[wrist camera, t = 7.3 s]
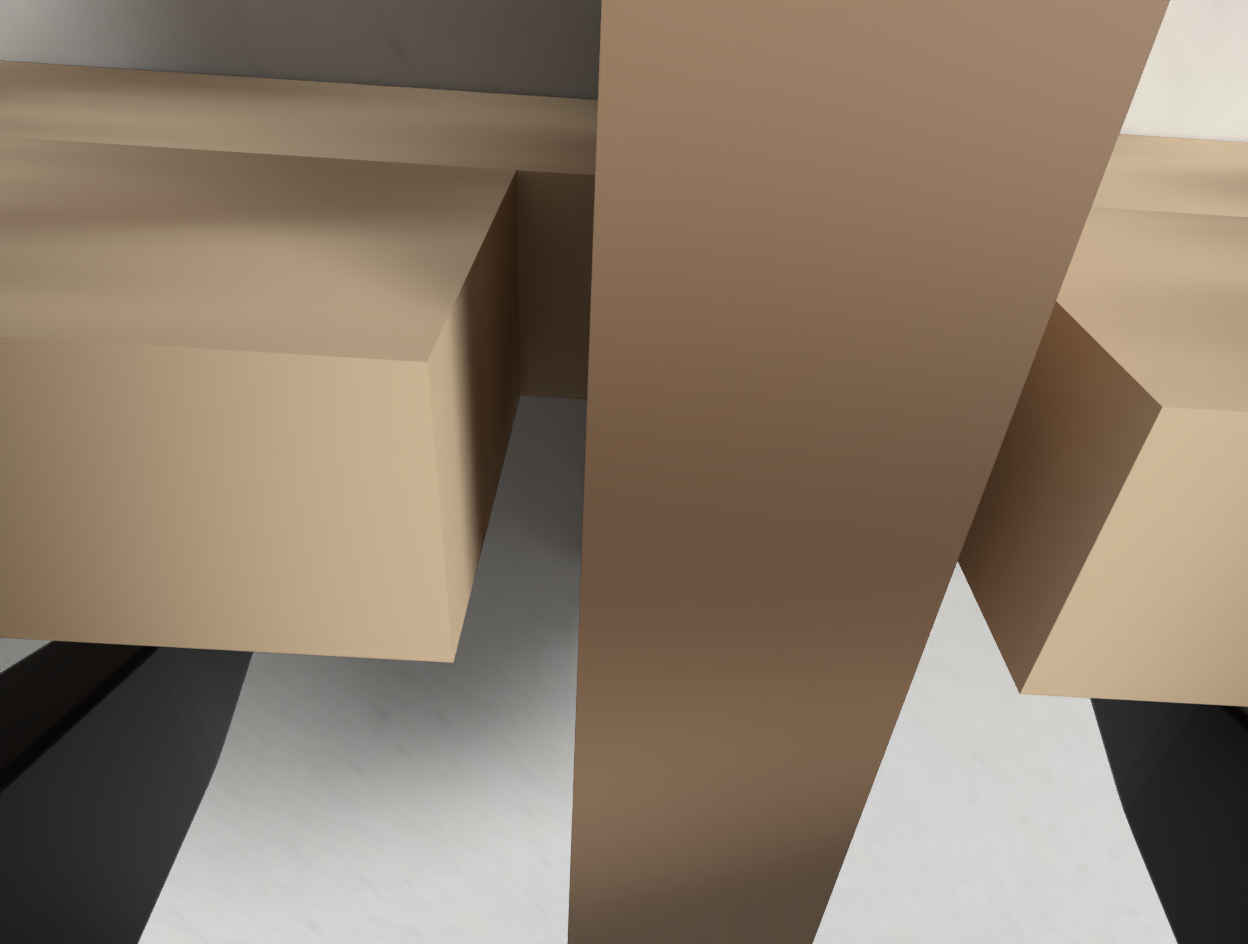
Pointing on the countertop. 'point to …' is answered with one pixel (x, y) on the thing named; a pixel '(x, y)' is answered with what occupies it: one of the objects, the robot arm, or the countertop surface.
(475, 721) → the countertop surface
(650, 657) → the walnut slot plate
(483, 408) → the oak slot board
